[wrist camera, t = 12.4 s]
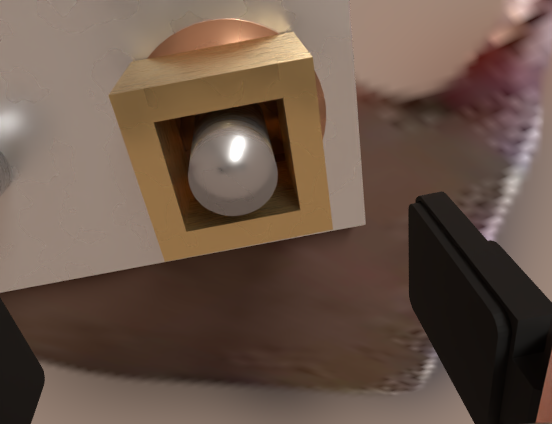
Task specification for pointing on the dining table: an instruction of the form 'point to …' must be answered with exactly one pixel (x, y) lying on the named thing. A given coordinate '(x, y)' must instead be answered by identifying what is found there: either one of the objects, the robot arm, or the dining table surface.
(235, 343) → the dining table surface
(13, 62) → the peg board
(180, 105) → the gold square frame
